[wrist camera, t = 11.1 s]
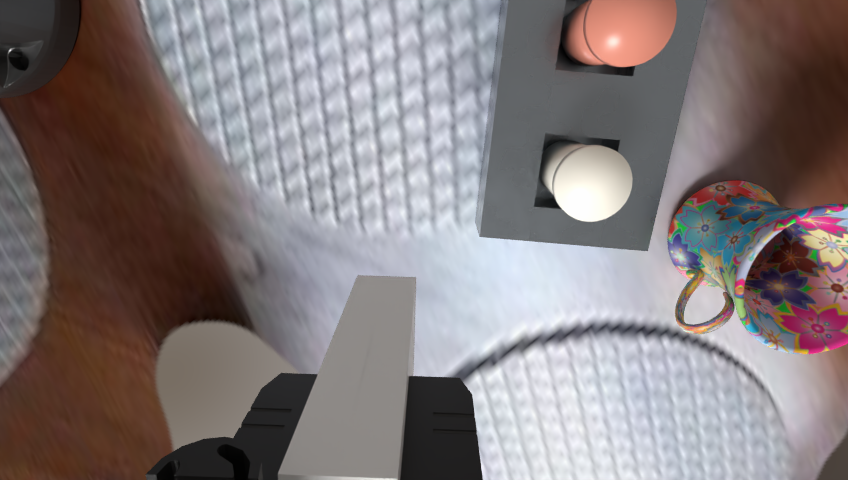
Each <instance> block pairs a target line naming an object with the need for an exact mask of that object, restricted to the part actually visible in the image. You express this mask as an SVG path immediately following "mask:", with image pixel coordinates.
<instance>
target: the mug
mask: <svg viewBox="0 0 848 480" xmlns="http://www.w3.org/2000/svg"><path fill="white" fill-rule="evenodd" d="M668 250H669V254H670V257H671V260H672V262H673V264H674V265H675V267H676V268H677V270H678V271H679V272H680V273H681V274H682V275H683V276H685V277H686V278H687V279H689V280H690V281H689V282H688V283H687V285H686V286H685V287H684V289H683V290H682V292H681V294H680V296H679V298H678V301H677V304H676V309H675V317H676V321H677V323H678V325H679V326H680V327H681V329H682V330H684V331H685V332H687V333H690V334H705V333H709V332H712V331H714V330H716V329H718V328H720V327H721V326H723V325H724V324H725V323H726V322H727V321H728V320H729V319H730V318H731V316H732V314H733V312H734V303H735V306H736V310H737V313H738V315H739V318H740V320H741V322H742V324H743V325H744V327H745V328H746V330H747V331H748V332H749V333H750V334H751V335H752V336H753V337H754V338H755V339H757V340H758V341H760V342H761V343H762V344H764V345H766V346H768V347H770V348H773V349H775V350H778V351H782V352H787V353H793V354H813V353H820V352H825V351H829V350H832V349H835V348H838V347H841V346H843V345H846V344H848V204H827V205H820V206H815V207H811V208H806V209H791V208H786V207H783V206H780V205H779V204H778V203H777V201H776V199H775V198H774V197H773V196H772V195H771V194H770V193H769V192H768V191H767V190H765V189H764V188H762V187H761V186H759V185H756V184H754V183H751V182H747V181H740V180H731V181H723V182H718V183H715V184H712V185H709V186H707V187H705V188H703V189H701V190H699V191H698V192H696V193H695V194H693V195H692V196H691V197H690V198H689V199H688V200H687V201H686V202H685V203H684V204H683V205H682V206H681V207H680V209H679V210H678V211H677V213H676V215H675V216H674V218H673V220H672V223H671V226H670V229H669V233H668ZM700 284H701V285H705V286H712V287H721V288H722V289H724V290H725V291H726V292H723V296H724V298H725V301H726V302H725V306H724V308H723V309H722V311H721V312H720V313H719V314H718V315H717V316H716V317H714V318H713V319H711V320H709V321H707V322H704V323H701V324H695V325H691V324H686V323H685V322H684V310H685V306H686V304H687V301H688V300H689V298H690V296H691V295H692V293H693V292H694V291H695V289H696V288H697V287H698V286H699V285H700ZM730 296H731V297H730ZM733 301H734V302H733Z"/></svg>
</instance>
